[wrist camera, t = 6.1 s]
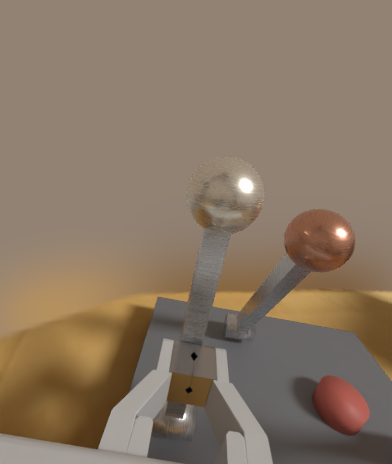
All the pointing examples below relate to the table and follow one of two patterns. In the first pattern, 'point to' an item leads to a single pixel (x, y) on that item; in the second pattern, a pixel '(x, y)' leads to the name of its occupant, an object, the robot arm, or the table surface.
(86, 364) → the table surface
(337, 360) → the switch console
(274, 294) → the middle lever
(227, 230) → the lever
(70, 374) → the table surface
